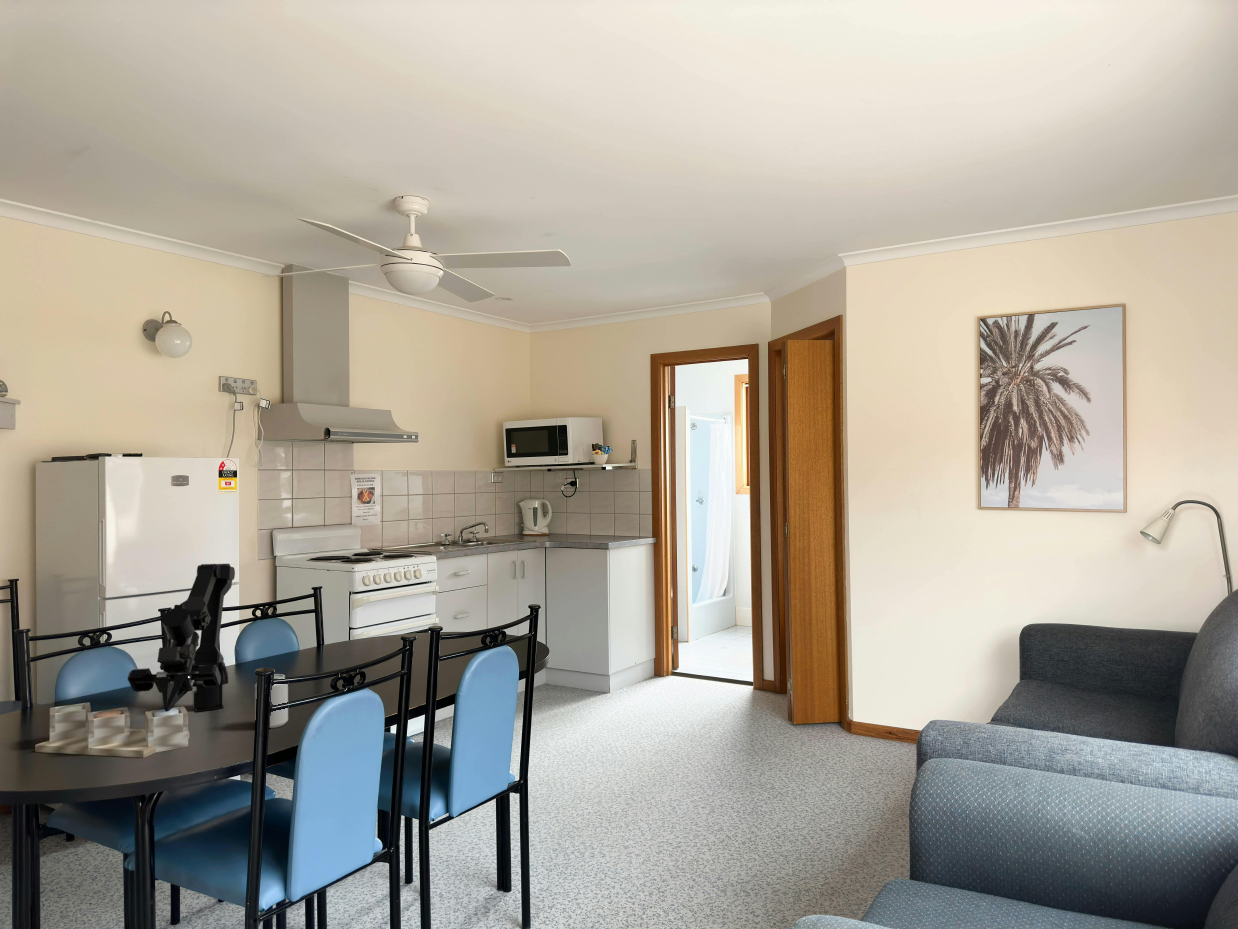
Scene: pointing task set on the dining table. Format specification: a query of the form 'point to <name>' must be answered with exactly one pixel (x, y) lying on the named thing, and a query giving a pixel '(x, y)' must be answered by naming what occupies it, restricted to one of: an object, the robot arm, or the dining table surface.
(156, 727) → the button console
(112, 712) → the button terracotta
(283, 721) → the can
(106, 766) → the dining table surface
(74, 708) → the button sage
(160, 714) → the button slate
